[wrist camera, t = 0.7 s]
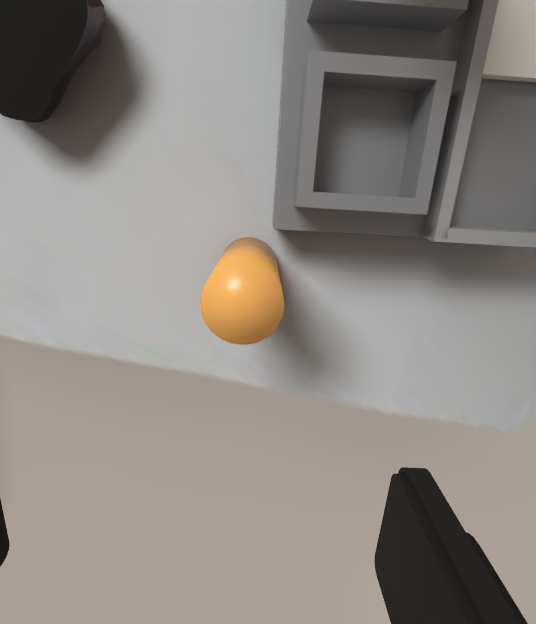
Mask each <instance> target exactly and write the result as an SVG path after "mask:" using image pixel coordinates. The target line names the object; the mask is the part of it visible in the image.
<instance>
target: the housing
mask: <svg viewBox="0 0 536 624" xmlns="http://www.w3.org/2000/svg"><path fill="white" fill-rule="evenodd" d="M498 1H499V0H287V2H286V18H285V34H284V50H283V66H282V83H281V99H280V115H279V131H278V147H277V164H276V180H275V196H274V212H273V227H274V229H281V230H298V231H315V232H332V233H349V234H367V235H384V236H401V237H418V238H425V239H428V240H431V241H434V242H449V243H466V244H484V245H501V246H518V247H535V248H536V82H525V81H511V80H498V79H484V78H482V74H483V70H484V65H485V61H486V56H487V51H488V47H489V42H490V38H491V33H492V28H493V24H494V19H495V15H496V10H497V5H498Z"/></svg>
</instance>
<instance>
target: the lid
mask: <svg viewBox="0 0 536 624" xmlns="http://www.w3.org/2000/svg"><path fill="white" fill-rule="evenodd" d="M482 78H484V79H498V80H511V81H525V82H536V0H499V1H498V5H497V10H496V15H495V19H494V24H493V28H492V33H491V38H490V42H489V47H488V51H487V56H486V61H485V65H484V70H483V74H482Z"/></svg>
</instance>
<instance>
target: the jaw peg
mask: <svg viewBox="0 0 536 624" xmlns="http://www.w3.org/2000/svg"><path fill="white" fill-rule="evenodd" d="M200 309H201V314H202V317H203V319H204V321H205V323H206V325H207V326H208V328H209V329H210V330H211V331H212V332H213V333H214V334H215V335H216V336H218V337H219V338H221V339H223V340H225V341H227V342H230V343H234V344H252V343H256V342H259V341H261V340H263V339H265V338H267V337H268V336H269V335H271V334H272V333H273V332H274V331H275V330H276V328H277V327H278V325H279V324H280V322H281V320H282V317H283V313H284V297H283V292H282V286H281V281H280V276H279V270H278V265H277V260H276V256H275V254H274V252H273V250H272V249H271V248H270V247H269V246H268V245H267V244H266V243H265V242H263V241H261V240H259V239H256V238H241V239H238V240H236V241H234V242H232V243H231V244H230V245H229V246H228V247H227V248H226V249H225V251H224V253H223V254H222V256H221V258H220V260H219V261H218V263H217V265H216V267H215V269H214V270H213V272H212V274H211V276H210V277H209V279H208V281H207V283H206V284H205V286H204V288H203V291H202V294H201V298H200Z"/></svg>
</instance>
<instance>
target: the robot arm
mask: <svg viewBox="0 0 536 624" xmlns="http://www.w3.org/2000/svg"><path fill="white" fill-rule="evenodd" d="M8 550H9V539H8V534H7V529H6V524H5V520H4V514H3V510H2V505H1V500H0V566H1V565H2V563H3V562H4V560H5V558H6V556H7V553H8ZM375 569H376V574H377V578H378V581H379V585H380V588H381V591H382V594H383V598H384V601H385V604H386V608H387V611H388V615H389V618H390V621H391V624H527V622H526V620H525V619H524V617H523V615H522V614H521V612H520V611H519V609H518V607H517V606H516V604H515V603H514V601H513V599H512V598H511V596H510V594H509V593H508V591H507V590H506V588H505V586H504V585H503V583H502V581H501V580H500V578H499V576H498V575H497V573H496V572H495V570H494V568H493V567H492V565H491V563H490V562H489V560H488V558H487V557H486V555H485V554H484V552H483V550H482V549H481V547H480V545H479V544H478V543H477V541H476V540H475V539H474V537H473V536H471V535H470V534H469V533H466V532H465V530H464V529H463V527H462V526H461V524H460V522H459V520H458V519H457V517H456V515H455V514H454V512H453V510H452V509H451V507H450V505H449V504H448V502H447V501H446V499H445V497H444V495H443V494H442V492H441V490H440V489H439V487H438V485H437V484H436V482H435V480H434V479H433V477H432V475H431V474H430V472H429V471H428V470H427V469H425V468H401V469H400V470H399V473H398V474H393V475H392V478H391V482H390V487H389V491H388V496H387V501H386V506H385V510H384V515H383V520H382V525H381V529H380V534H379V539H378V543H377V548H376V553H375Z"/></svg>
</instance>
